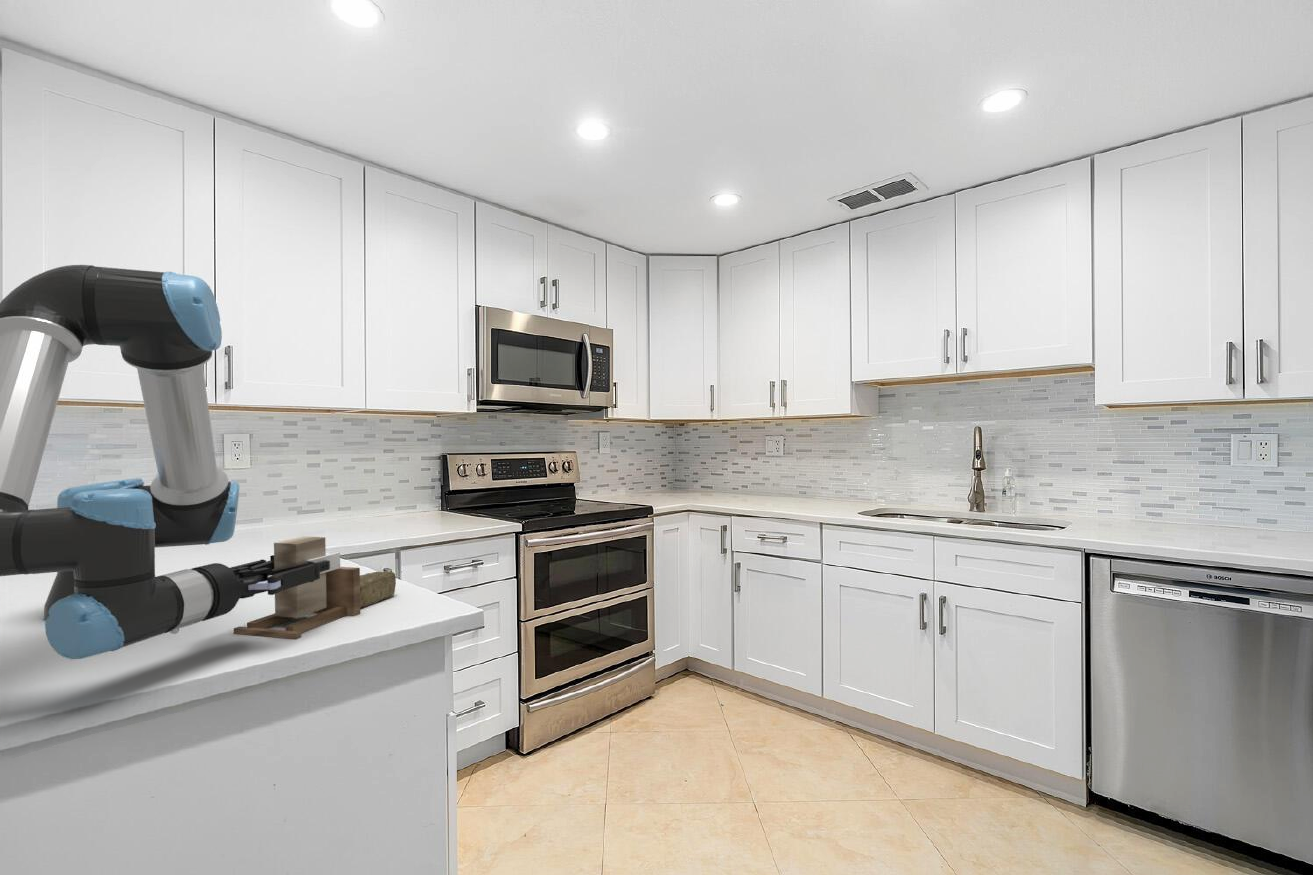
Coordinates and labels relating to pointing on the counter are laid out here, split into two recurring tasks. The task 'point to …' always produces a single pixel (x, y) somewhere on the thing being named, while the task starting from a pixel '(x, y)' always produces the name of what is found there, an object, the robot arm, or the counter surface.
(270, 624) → the wooden book stand
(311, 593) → the light wooden block
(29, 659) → the counter surface
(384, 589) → the stone block
